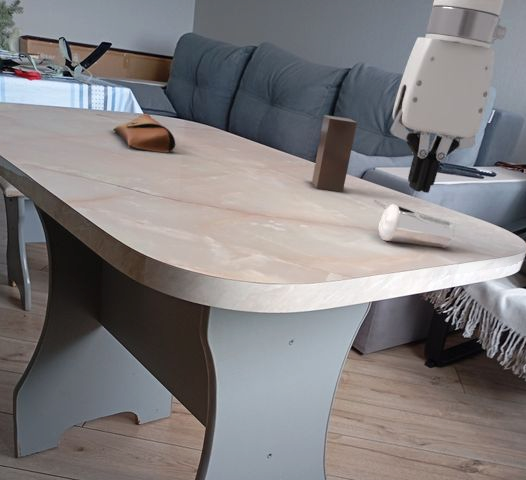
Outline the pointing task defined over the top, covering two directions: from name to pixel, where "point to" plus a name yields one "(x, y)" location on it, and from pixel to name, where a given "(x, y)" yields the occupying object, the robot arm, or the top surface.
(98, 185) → the top surface
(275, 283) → the top surface
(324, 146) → the walnut pillar
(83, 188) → the top surface
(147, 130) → the sunglasses case
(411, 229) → the milkshake
